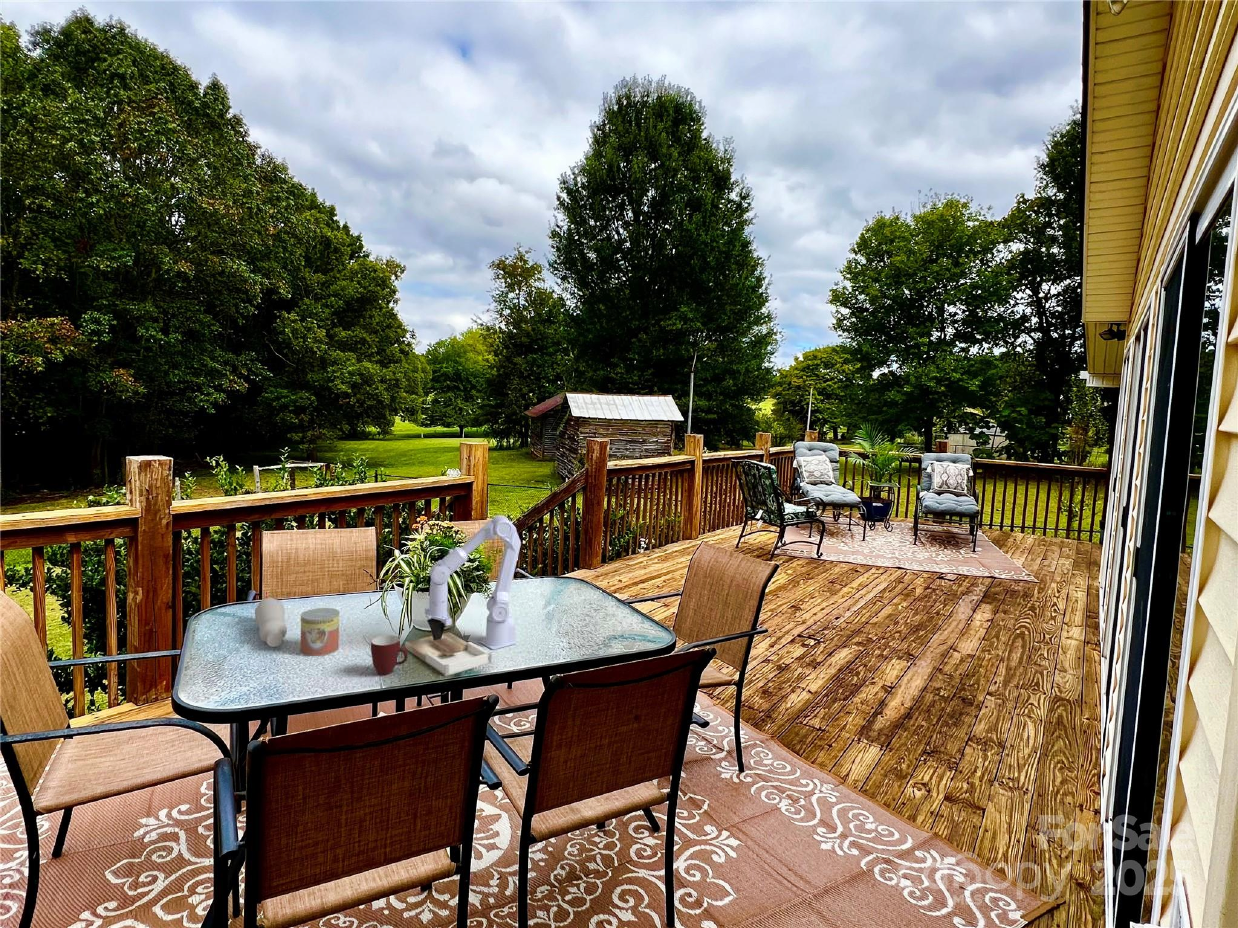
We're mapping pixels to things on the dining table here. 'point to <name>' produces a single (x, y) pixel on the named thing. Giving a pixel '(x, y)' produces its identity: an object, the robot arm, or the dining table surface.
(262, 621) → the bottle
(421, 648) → the board
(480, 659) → the tray
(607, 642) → the dining table surface
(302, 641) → the canned food
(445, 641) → the tile
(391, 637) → the mug
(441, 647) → the tile
